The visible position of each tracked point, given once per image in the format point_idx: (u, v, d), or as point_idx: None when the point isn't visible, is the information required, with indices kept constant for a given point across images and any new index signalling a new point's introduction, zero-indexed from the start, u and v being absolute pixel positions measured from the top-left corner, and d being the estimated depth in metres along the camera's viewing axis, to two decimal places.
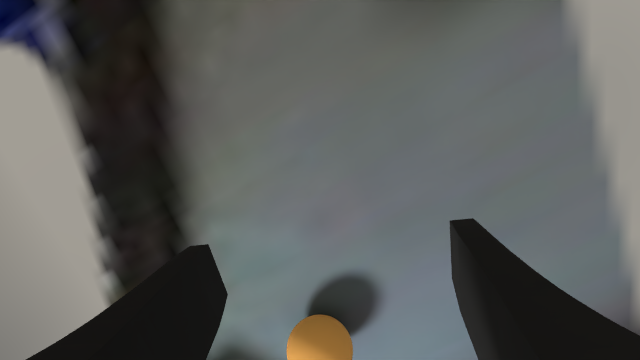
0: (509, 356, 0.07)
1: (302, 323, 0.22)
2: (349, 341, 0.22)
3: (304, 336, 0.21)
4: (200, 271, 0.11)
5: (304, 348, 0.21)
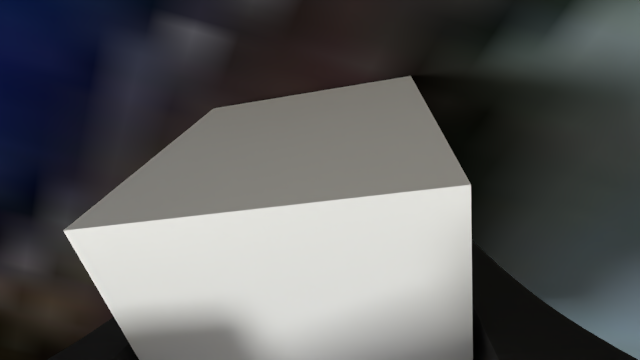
0: (478, 357, 0.07)
1: None
2: None
3: None
4: None
5: None
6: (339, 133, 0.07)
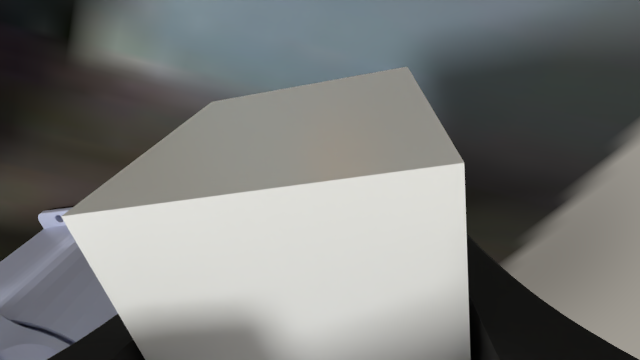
0: (479, 357, 0.07)
1: None
2: None
3: None
4: None
5: None
6: (335, 120, 0.07)
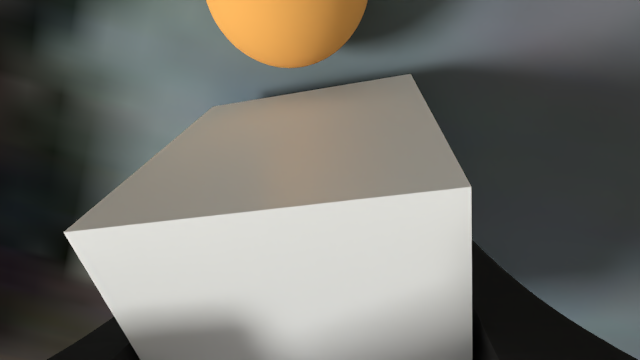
0: (478, 357, 0.07)
1: None
2: None
3: None
4: None
5: None
6: (339, 133, 0.07)
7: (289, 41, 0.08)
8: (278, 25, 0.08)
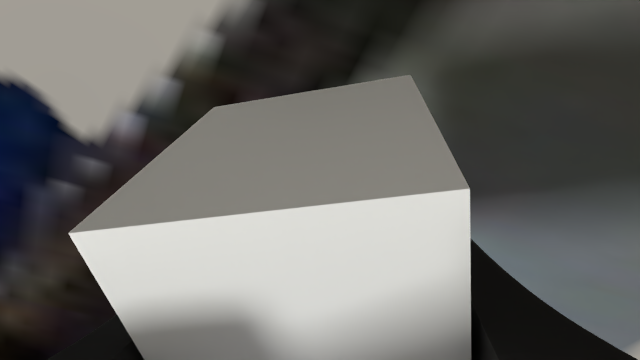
0: (478, 357, 0.07)
1: None
2: None
3: None
4: None
5: None
6: (340, 134, 0.07)
7: None
8: None
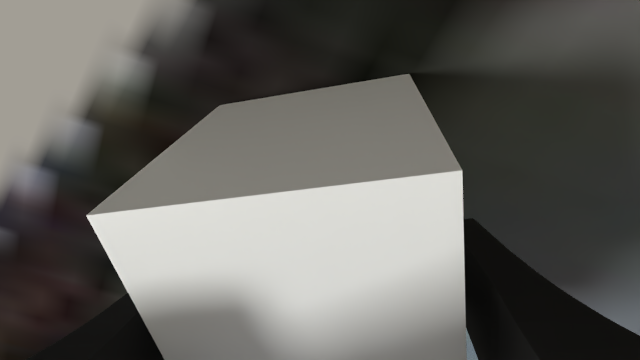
0: (509, 356, 0.07)
1: None
2: None
3: None
4: None
5: None
6: (341, 127, 0.08)
7: None
8: None
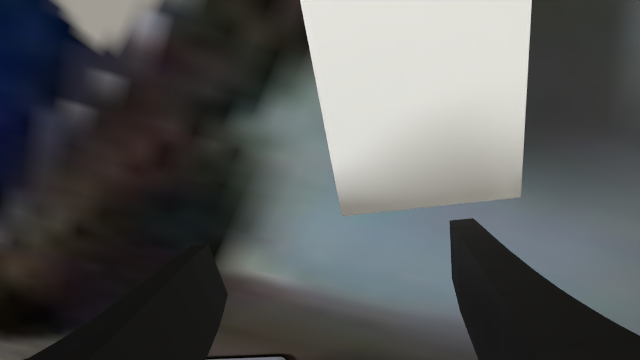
0: (509, 356, 0.07)
1: None
2: None
3: None
4: (200, 271, 0.11)
5: None
6: None
7: None
8: None
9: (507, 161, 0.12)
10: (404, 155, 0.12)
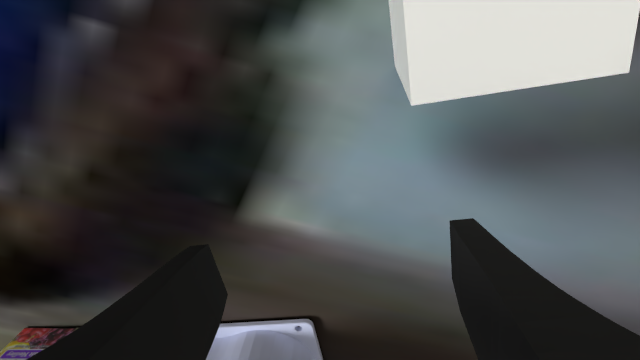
0: (509, 356, 0.07)
1: None
2: None
3: None
4: (200, 271, 0.11)
5: None
6: None
7: None
8: None
9: (618, 23, 0.10)
10: (494, 19, 0.10)
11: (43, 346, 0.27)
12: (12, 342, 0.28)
